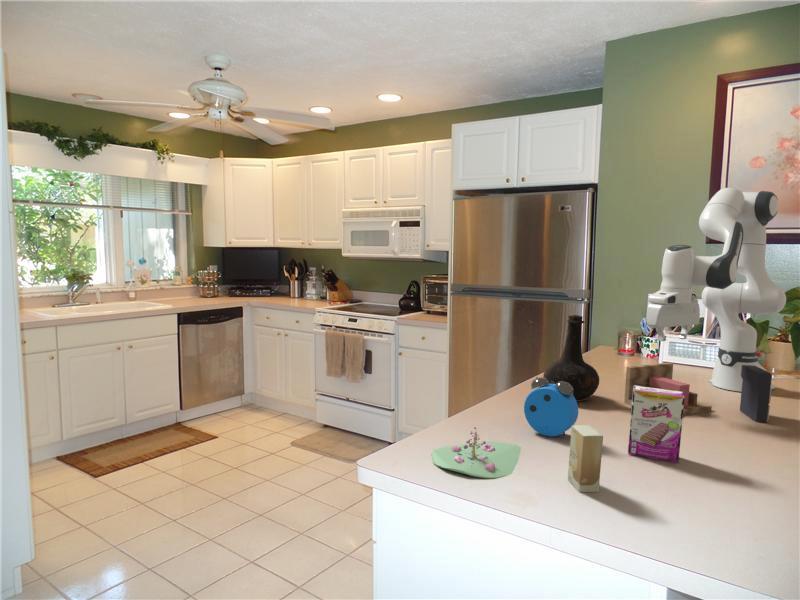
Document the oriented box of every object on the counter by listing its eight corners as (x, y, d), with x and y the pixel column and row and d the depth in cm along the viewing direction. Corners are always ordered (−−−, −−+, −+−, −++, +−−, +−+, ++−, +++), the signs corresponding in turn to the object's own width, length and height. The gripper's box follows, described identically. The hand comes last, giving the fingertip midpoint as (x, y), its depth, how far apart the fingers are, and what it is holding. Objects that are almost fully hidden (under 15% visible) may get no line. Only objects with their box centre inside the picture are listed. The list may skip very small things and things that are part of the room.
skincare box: (566, 479, 111) (570, 424, 109) (586, 478, 111) (589, 424, 110) (579, 493, 104) (583, 435, 103) (600, 493, 105) (604, 435, 103)
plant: (468, 434, 138) (470, 401, 137) (542, 454, 125) (544, 418, 124) (414, 463, 118) (415, 425, 117) (494, 491, 106) (496, 448, 105)
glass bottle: (539, 401, 168) (543, 316, 165) (545, 387, 184) (549, 310, 182) (597, 408, 161) (603, 320, 158) (598, 394, 178) (603, 314, 175)
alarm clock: (577, 436, 136) (580, 381, 135) (569, 443, 131) (572, 386, 130) (531, 425, 144) (533, 373, 143) (521, 431, 139) (524, 377, 138)
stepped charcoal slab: (770, 423, 151) (774, 373, 149) (753, 422, 152) (758, 372, 150) (752, 411, 162) (756, 365, 160) (737, 410, 162) (741, 364, 161)
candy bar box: (627, 455, 125) (632, 389, 123) (628, 448, 129) (632, 384, 127) (679, 464, 120) (685, 396, 118) (678, 456, 124) (683, 390, 123)
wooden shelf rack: (666, 396, 176) (669, 362, 175) (711, 410, 162) (714, 373, 161) (624, 402, 168) (626, 366, 167) (667, 417, 154) (670, 378, 152)
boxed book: (657, 396, 171) (659, 376, 170) (687, 406, 161) (689, 384, 160) (648, 398, 169) (649, 377, 168) (678, 407, 159) (679, 385, 158)
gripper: (688, 294, 168) (685, 336, 170) (644, 296, 160) (641, 340, 162) (707, 296, 163) (703, 339, 164) (661, 298, 154) (658, 344, 156)
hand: (672, 339), depth 163 cm, fingers open, 8 cm apart
